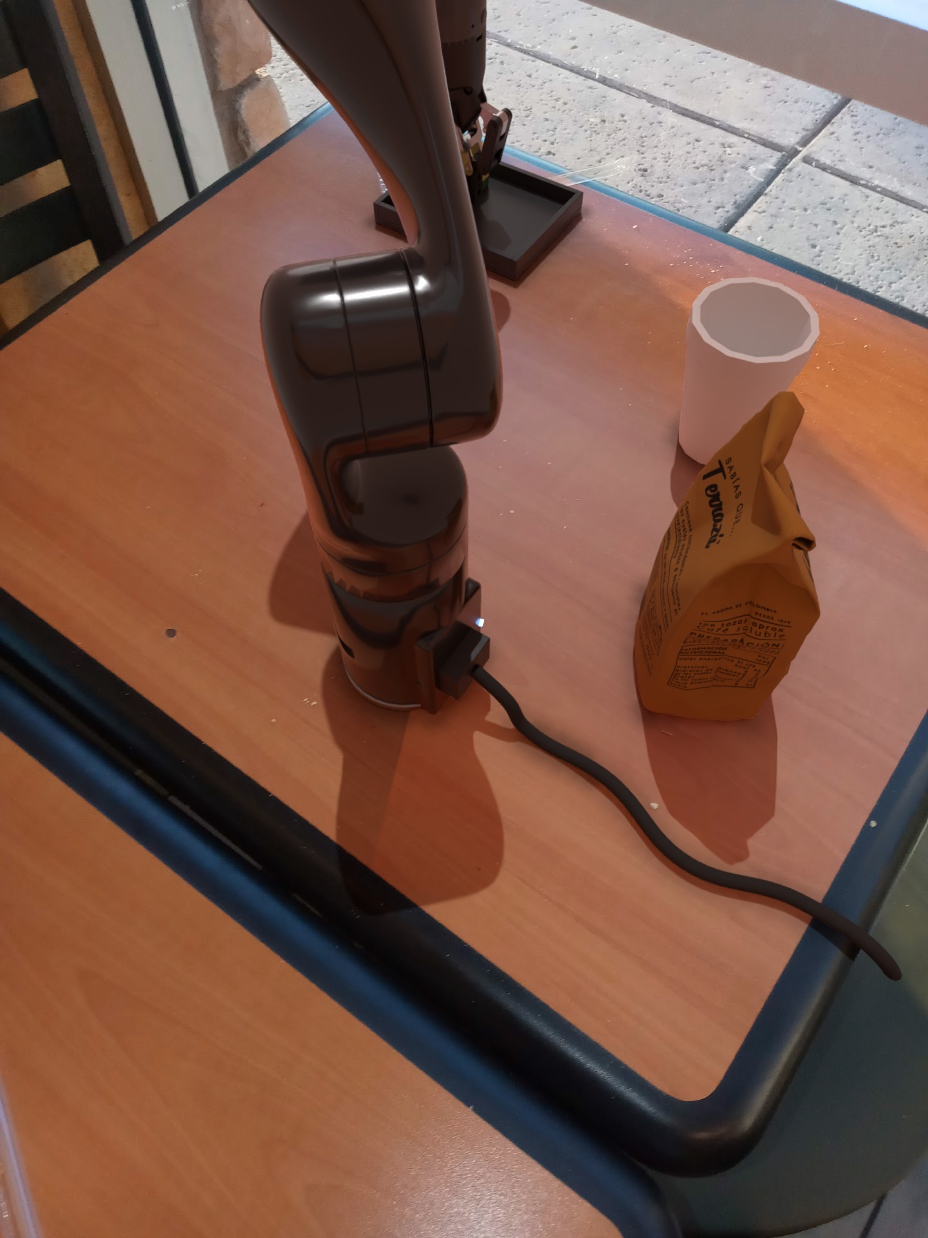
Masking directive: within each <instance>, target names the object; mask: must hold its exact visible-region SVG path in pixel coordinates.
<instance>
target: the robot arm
mask: <svg viewBox="0 0 928 1238" xmlns="http://www.w3.org/2000/svg"><path fill="white" fill-rule="evenodd" d="M245 2H246V3H247V5H248V6H249V8H250V9H251V10H252V12H253V13H254V15H255V16H256V17H257V19H258V20H259V21H260V23H261V24H262V26H263V27H264V28H265V29H266V31H267V32H268V33H269V34H270V35H271V37H272V38H273V39H274V40H275V41H276V43H277V44H278V45H279V46H280V48H281V49H282V50H283V51H284V53H285V54H286V55H287V56H288V57H289V58H290V60H291V61H292V62H293V63H294V64H295V66H297V68H298V69H299V70H300V71H301V72H302V73H303V74H304V76H305V77H306V78H307V79H308V80H309V81H310V82H311V84H312V85H313V87H315V88H316V90H317V91H319V93H320V94H321V95H322V96H323V98H325V99H326V100H327V102H328V103H329V105H331V107H332V108H333V109H334V110H335V111H336V113H337V114H338V115H339V117H340V118H341V119H342V120H343V121H344V123H345V124H346V126H347V127H348V128H349V130H350V131H351V132H352V134H353V135H354V137H355V138H356V139H357V142H358V143H359V144H360V146H361V148H362V149H363V150H364V151H365V153H366V155H367V156H368V158H369V160H370V161H371V163H372V164H373V166H374V167H375V169H376V171H377V173H378V176H379V177H380V179H381V180H382V182H383V184H384V186H385V188H386V191H387V190H388V192H389V195H390V197H391V199H392V201H393V203H394V205H395V208H396V210H397V213H398V215H399V217H400V220H401V223H402V225H403V228H404V231H405V234H406V235H405V236H406V240H407V244H408V247H401V248H400V249H397V248H393V249H392V248H391V249H386V250H378V251H372V252H365V253H357V254H349V255H342V256H336V257H333V258H331V257H330V258H322V259H321V258H320V259H314V260H307V261H301V262H295V263H290V264H287V265H283V266H280V267H278V268H277V269H275V270H274V271H273V272H271V274H269V276H268V278H267V280H266V282H265V283H264V285H263V289H262V292H261V298H260V301H259V335H260V342H261V346H262V352H263V353H262V354H263V358H264V364H265V368H266V373H267V375H268V379H269V383H270V387H271V390H272V394H273V396H274V401H275V404H276V407H277V409H278V412H279V415H280V419H281V422H282V424H283V427H284V430H285V433H286V436H287V439H288V442H289V445H290V447H291V451H292V454H293V457H294V460H295V463H296V467H297V470H298V474H299V477H300V481H301V486H302V489H303V494H304V497H305V503H306V509H307V513H308V517H309V522H310V527H311V529H312V534H313V539H314V542H315V546H316V551H317V554H318V559H319V563H320V567H321V571H322V576H323V580H324V584H325V587H326V592H327V596H328V600H329V605H330V608H331V612H329V613H330V615H332V616H333V617H332V616H330V618H331V621H332V622H331V623H332V624H333V625H332V626H333V628H334V632H335V634H336V635H335V636H336V640H337V643H338V646H339V650H340V653H341V657H342V662H343V667H344V671H345V674H346V676H347V679H348V681H349V683H350V684H351V686H352V687H353V688H354V689H355V691H356V692H357V693H358V694H359V695H360V696H361V697H363V698H364V699H366V700H367V701H368V702H370V703H372V704H374V705H376V706H378V707H381V708H384V709H387V710H393V711H401V712H402V711H403V712H405V711H408V712H409V711H417V710H423V711H425V712H427V713H428V714H430V715H433V716H434V715H437V714H438V713H439V712H440V710H441V708H442V707H443V706H444V704H445V703H446V702H447V701H448V699H449V698H450V697H451V698H452V699H454V700H456V701H459V700H460V699H461V698H462V696H463V695H464V694H465V692H466V691H467V689H468V688H469V687H470V685H471V684H472V683H473V682H474V681H475V682H476V683H477V684H479V686H480V687H482V688H483V689H484V690H485V691H486V692H488V694H490V695H491V696H492V697H493V698H494V700H496V702H498V703H499V704H500V706H501V707H502V708H503V710H504V711H505V712H506V714H507V717H508V718H509V720H510V722H511V724H512V725H513V727H514V728H515V729H516V730H517V732H519V733H520V734H521V735H522V736H523V737H525V738H526V739H527V740H528V741H529V742H531V743H532V744H533V745H535V746H536V747H538V748H539V749H540V750H542V751H544V752H546V753H547V754H549V755H552V756H553V757H555V758H557V759H559V760H561V761H563V762H564V763H567V764H568V765H571V766H573V767H575V768H576V769H578V770H580V771H582V772H584V773H585V774H587V775H588V776H590V777H591V778H593V779H594V780H596V781H597V782H599V783H600V784H601V785H602V786H604V787H605V788H606V789H607V790H608V791H610V793H612V794H613V796H614V797H615V798H616V799H617V800H618V801H619V802H620V803H621V804H622V806H623V807H624V808H625V810H626V811H627V812H628V813H629V815H630V816H631V817H632V819H633V820H634V822H635V823H636V824H637V826H638V827H639V828H640V829H641V831H642V832H643V834H644V835H645V836H646V838H647V839H648V840H649V841H650V842H651V844H652V845H653V847H655V848H656V849H657V850H658V851H659V852H660V853H661V855H663V856H664V857H665V858H666V859H667V860H669V861H670V863H672V864H674V865H675V866H676V867H678V868H679V869H680V870H682V871H684V872H686V873H687V874H689V875H691V876H693V877H695V878H697V879H698V880H701V881H704V882H706V883H708V884H712V885H714V886H718V887H722V888H725V889H729V890H734V891H740V892H744V893H749V894H754V895H758V896H763V897H765V898H766V897H767V898H769V899H773V900H777V901H778V902H782V903H784V904H786V905H788V906H790V907H793V908H795V909H797V910H799V911H801V912H802V913H805V914H806V915H809V916H810V917H812V918H814V919H816V920H818V921H819V922H821V923H823V924H825V925H826V926H827V927H829V928H831V929H832V930H834V931H836V932H838V934H840V935H842V936H843V937H844V938H846V939H848V940H849V941H850V942H852V943H853V944H854V945H855V946H857V947H858V948H859V949H860V950H861V951H863V952H864V953H865V954H866V956H868V957H869V958H870V959H871V960H872V962H874V963H875V964H876V965H877V967H878V968H879V969H880V970H881V972H882V973H883V974H884V975H885V977H887V979H889V980H891V981H894V982H898V981H901V980H902V977H903V974H902V971H901V968H900V965H898V963H897V961H896V960H895V959H894V957H893V956H892V955H891V954H890V953H889V952H888V951H887V949H886V948H885V947H884V946H883V945H882V944H881V943H879V942H878V941H877V940H876V938H874V937H873V936H872V935H870V934H869V933H868V932H867V931H865V930H864V929H863V928H861V926H859V925H857V924H856V923H854V921H851V920H850V919H848V918H847V917H845V916H844V915H842V914H840V913H839V912H837V911H836V910H834V909H832V908H830V907H828V906H827V905H825V904H823V903H821V902H819V901H818V900H816V899H814V898H812V897H810V896H808V895H807V894H805V893H803V892H801V891H798V890H795V889H793V888H791V887H789V886H786V885H784V884H781V883H777V882H775V881H772V880H766V879H763V878H758V877H755V876H754V877H753V876H748V875H744V874H738V873H733V872H729V871H725V870H722V869H719V868H715V867H713V866H711V865H708V864H706V863H704V862H702V861H699V860H697V859H696V858H694V857H692V856H691V855H689V854H688V853H687V852H685V851H683V850H682V849H681V848H680V847H678V846H677V845H676V844H675V843H674V842H673V841H672V840H671V839H670V838H669V837H668V836H667V835H666V834H665V833H664V832H663V830H661V828H660V827H659V826H658V824H657V823H656V821H654V819H653V818H652V817H651V815H650V814H649V812H648V811H647V809H645V807H644V805H643V804H642V803H641V802H640V800H639V799H638V798H637V796H636V795H634V793H633V792H632V791H631V790H630V788H629V787H628V786H627V785H625V784H624V782H623V781H621V780H620V779H619V778H618V777H617V776H616V775H615V774H614V773H613V772H611V771H610V770H608V769H607V768H605V767H604V766H602V764H600V763H598V762H597V761H595V760H593V758H590V757H589V756H586V755H585V754H583V753H581V752H579V751H576V750H574V749H573V748H572V747H571V748H570V747H569V746H568V745H565V744H563V743H561V742H559V741H557V740H555V739H554V738H552V737H550V736H548V735H547V734H545V733H544V732H543V731H541V730H540V729H539V728H537V727H536V726H535V725H534V724H533V723H532V722H530V720H528V719H527V717H526V716H525V715H524V713H523V711H522V709H521V706H520V704H519V702H518V701H517V700H516V698H514V696H513V695H512V694H511V693H510V691H509V690H508V689H507V688H506V687H505V686H504V685H503V684H502V683H500V682H499V681H498V680H497V679H496V678H495V677H494V676H492V674H490V673H489V672H488V671H487V670H486V669H485V668H484V667H485V665H486V664H487V663H488V661H489V660H490V652H491V651H490V650H491V638H490V637H489V636H487V635H485V634H484V633H483V632H481V631H482V630H481V629H482V627H483V625H484V621H485V619H483V618H482V584H481V582H479V581H478V580H476V579H474V578H472V577H471V576H469V502H470V499H469V497H470V496H469V495H470V494H469V492H470V491H469V483H468V477H467V472H466V470H465V467H464V464H463V462H462V461H461V459H460V456H459V455H458V454H457V452H456V451H455V450H454V448H453V447H452V446H454V445H460V444H465V443H470V442H474V441H477V440H481V439H484V438H485V437H487V436H489V435H490V434H492V433H493V431H494V430H495V428H497V427H496V426H497V425H498V423H499V420H500V417H501V413H502V407H503V401H504V372H503V357H502V350H501V343H500V335H499V330H498V324H497V319H496V314H495V308H494V303H493V298H492V297H493V296H492V293H491V288H490V283H489V278H488V277H489V276H488V272H487V269H486V268H485V263H484V259H483V254H482V250H481V245H480V240H479V236H478V231H477V227H476V222H475V217H474V213H473V208H472V204H473V203H474V202H475V201H476V200H478V199H479V198H480V197H481V195H482V183H483V176H486V175H487V174H488V173H489V172H490V171H491V170H492V169H493V168H494V167H495V166H497V165H498V164H499V163H500V162H501V161H502V158H503V154H504V151H505V147H506V143H507V140H508V135H509V132H510V128H511V125H512V120H513V112H512V110H511V109H510V108H508V107H504V108H502V109H501V110H500V109H498V108H496V107H495V106H493V105H492V104H490V103H489V102H488V97H487V94H486V92H485V88H484V78H485V73H486V69H487V17H488V11H487V6H488V5H487V3H488V1H487V0H245ZM479 118H481V119H482V122H483V125H482V127H483V128H482V127H481V123H480V120H479ZM465 133H466V134H465ZM463 134H464V135H465V136H464V137H463ZM483 134H484V139H483ZM482 139H483V141H482ZM481 141H482V142H484V143H483V146H482V142H481ZM470 149H471V152H472V155H471V152H470Z"/></svg>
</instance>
